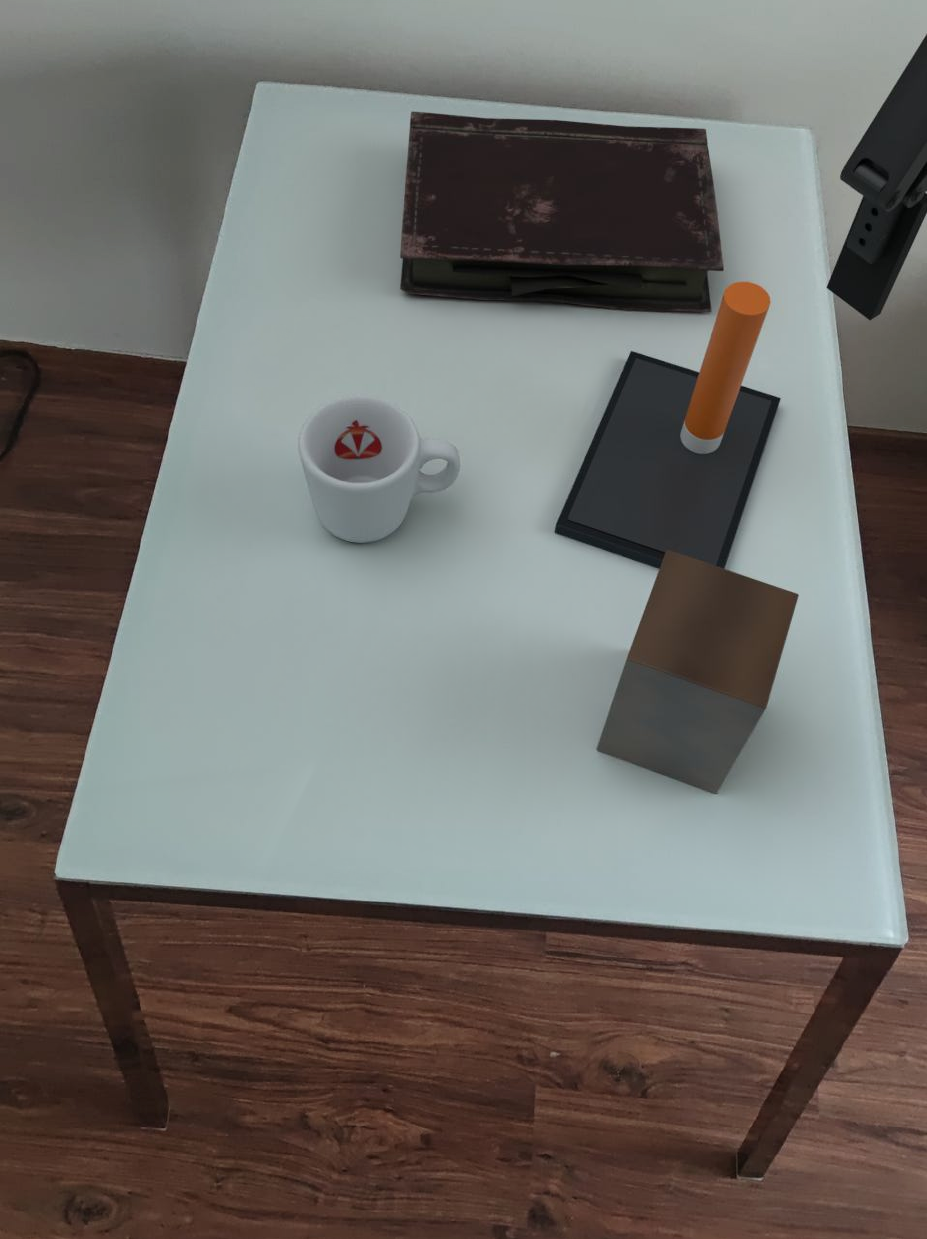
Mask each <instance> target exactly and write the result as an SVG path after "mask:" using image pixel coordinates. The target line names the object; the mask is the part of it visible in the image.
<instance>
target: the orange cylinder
mask: <svg viewBox="0 0 927 1239" xmlns="http://www.w3.org/2000/svg"><path fill="white" fill-rule="evenodd" d="M770 306H771V297H770V294H769V293H768V291H767V290H766V289H765V288H764V287H763V286H760V285H759V284H757V283H754V282H751V281H736V282H733V283H731V284H729V285H728V286H727V287H726V289H725V290H724V292H723V295H722V298H721V301H720V306H719V309H718V311H717V315H716V318H715V321H714V324H713V327H712V330H711V333H710V337H709V340H708V344H707V346H706V349H705V353H704V357H703V359H702V363H701V366H700V370H699V371H698V372H699V375H698V379H697V382H696V385H695V388H694V392H693V395H692V398H691V401H690V404H689V408H688V411H687V414H686V417H685V420H684V424H683V427H682V430H681V434H680V438H681V441H682V443H683V445H684V446H685V447H686V448H687V449H689V450H690V451H692V452H695V453H699V454H707V453H711V452H713V451H715V450H716V449H717V448H718V447H719V445H720V443H721V440H722V437H723V434H724V432H725V429H726V426H727V423H728V421H729V418H730V415H731V412H732V409H733V407H734V404H735V401H736V398H737V395H738V393H739V390H740V387H741V386H742V384H743V381H744V379H745V376H746V373H747V370H748V367H749V364H750V362H751V359H752V356H753V353H754V350H755V348H756V345H757V342H758V340H759V337H760V334H761V331H762V328H763V326H764V322H765V321H766V318H767V314H768V311H769V310H770V309H769V308H770Z"/></svg>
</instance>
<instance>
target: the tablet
mask: <svg viewBox="0 0 927 1239" xmlns="http://www.w3.org/2000/svg"><path fill="white" fill-rule="evenodd" d="M699 372H700V371H696V370H694V369H690V368H687V367H684V366H680V365H678V364H675V363H671V362H668V361H665V360H661V359H659V358H655V357H653V356H649V355H646V354H643V353H640V352H637V351H633V350H630V351H629V354H628V356H627V359H626V361H625V364H624V366H623V368H622V371H621V373H620V375H619V377H618V380H617V382H616V385H615V387H614V389H613V392H612V393H611V396H610V398H609V401H608V403H607V405H606V408H605V410H604V412H603V415H602V416H601V419H600V422H599V424H598V426H597V429H596V431H595V433H594V435H593V438H592V440H591V442H590V444H589V447H588V449H587V451H586V454H585V456H584V459H583V461H582V463H581V465H580V467H579V470H578V472H577V475H576V476H575V479H574V482H573V484H572V485H571V489H570V491H569V493H568V495H567V498H566V500H565V503H564V504H563V507H562V509H561V511H560V514H559V517H558V519H557V520H556V523H555V527H554V533H555V534H557V535H561V536H563V537H566V538H569V539H572V540H575V541H577V542H581V543H583V544H585V545H586V544H587V545H590V546H592V547H596V548H598V549H601V550H604V551H606V552H610V553H613V554H616V555H619V556H622V557H624V558H628V559H630V560H633V561H635V562H639V563H641V564H645V565H648V566H651V567H654V568H656V569H658V570H659V569H660V566H661V563H662V561H663V558H664V555H665V553H666V550H670V551H673V552H676V553H679V554H682V555H685V556H688V557H691V558H694V559H697V560H700V561H703V562H705V563H708V564H711V565H714V566H717V567H720V568H723V569H726V564H727V561H728V558H729V555H730V552H731V549H732V546H733V543H734V540H735V538H736V535H737V531H738V529H739V526H740V522H741V519H742V516H743V513H744V511H745V507H746V504H747V501H748V498H749V496H750V492H751V489H752V486H753V484H754V480H755V478H756V474H757V472H758V469H759V465H760V463H761V459H762V456H763V454H764V451H765V448H766V445H767V442H768V438H769V436H770V432H771V431H772V430H771V429H772V426H773V424H774V420H775V417H776V415H777V411H778V409H779V405H780V402H781V397H779V396H775V395H772V394H770V393H766V392H763V391H759V390H757V389H753V388H751V387H747V386H744V385H741V387H740V390H739V393H738V395H737V398H736V401H735V404H734V407H733V409H732V412H731V415H730V418H729V421H728V423H727V426H726V429H725V432H724V434H723V437H722V440H721V443H720V445H719V447H718V448H717V449H716V450H715V451H713V452H711V453H707V454H699V453H695V452H692V451H690V450H689V449H687V448H686V447H685V446H684V445H683V443H682V441H681V438H680V434H681V430H682V427H683V424H684V420H685V417H686V414H687V411H688V408H689V404H690V401H691V398H692V395H693V392H694V388H695V385H696V382H697V379H698V375H699Z"/></svg>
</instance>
